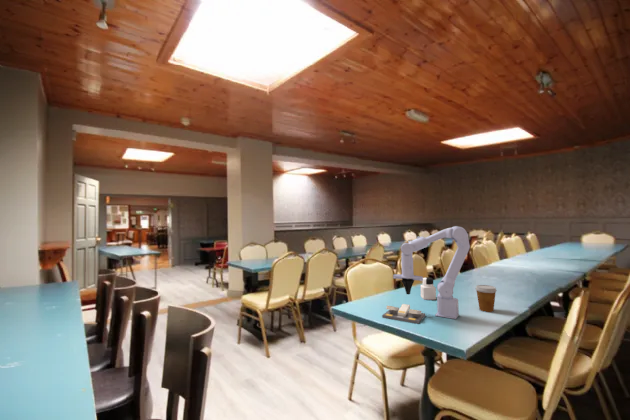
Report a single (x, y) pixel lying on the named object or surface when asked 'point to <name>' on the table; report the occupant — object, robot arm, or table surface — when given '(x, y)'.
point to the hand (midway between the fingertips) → (408, 293)
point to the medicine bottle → (428, 289)
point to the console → (408, 318)
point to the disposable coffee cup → (486, 297)
